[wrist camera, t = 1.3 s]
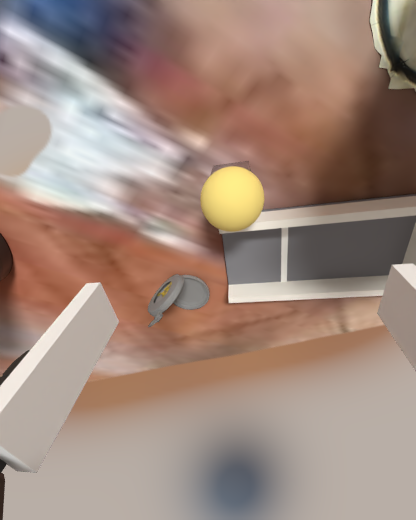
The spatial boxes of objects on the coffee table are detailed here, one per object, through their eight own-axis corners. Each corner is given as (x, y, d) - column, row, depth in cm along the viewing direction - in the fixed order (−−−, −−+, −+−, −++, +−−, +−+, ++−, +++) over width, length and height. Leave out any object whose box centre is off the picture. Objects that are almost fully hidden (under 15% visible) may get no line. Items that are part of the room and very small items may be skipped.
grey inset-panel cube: (217, 199, 30) (215, 211, 27) (213, 165, 28) (210, 174, 25) (250, 195, 29) (252, 207, 26) (248, 161, 27) (250, 169, 24)
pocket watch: (205, 309, 40) (197, 362, 32) (155, 298, 40) (134, 349, 32) (216, 270, 36) (210, 320, 28) (160, 257, 36) (137, 305, 27)
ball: (208, 219, 28) (202, 245, 23) (199, 164, 24) (190, 180, 19) (262, 214, 27) (268, 239, 22) (260, 156, 24) (267, 170, 19)
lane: (229, 287, 37) (229, 303, 34) (219, 214, 31) (218, 226, 28) (402, 277, 34) (418, 293, 31) (431, 192, 27) (454, 202, 24)
